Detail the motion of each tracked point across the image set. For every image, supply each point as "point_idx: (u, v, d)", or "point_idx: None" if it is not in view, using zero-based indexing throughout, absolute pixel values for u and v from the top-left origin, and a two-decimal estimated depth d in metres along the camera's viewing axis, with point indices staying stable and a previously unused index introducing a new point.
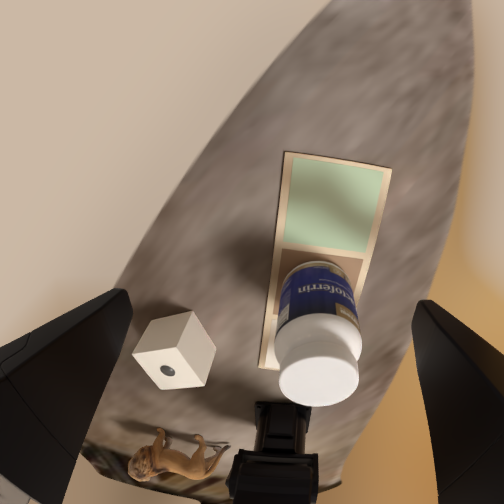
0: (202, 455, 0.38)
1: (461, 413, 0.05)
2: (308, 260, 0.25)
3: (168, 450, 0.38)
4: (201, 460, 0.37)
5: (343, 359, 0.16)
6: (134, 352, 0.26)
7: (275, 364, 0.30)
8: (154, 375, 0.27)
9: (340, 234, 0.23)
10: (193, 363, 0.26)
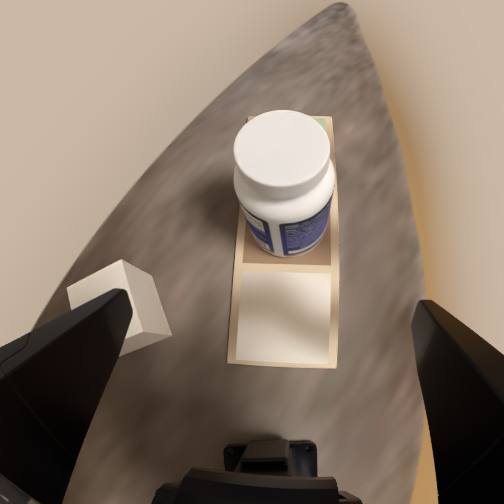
0: None
1: (461, 413, 0.05)
2: None
3: None
4: None
5: (300, 113, 0.15)
6: None
7: (250, 353, 0.22)
8: None
9: None
10: (136, 298, 0.20)
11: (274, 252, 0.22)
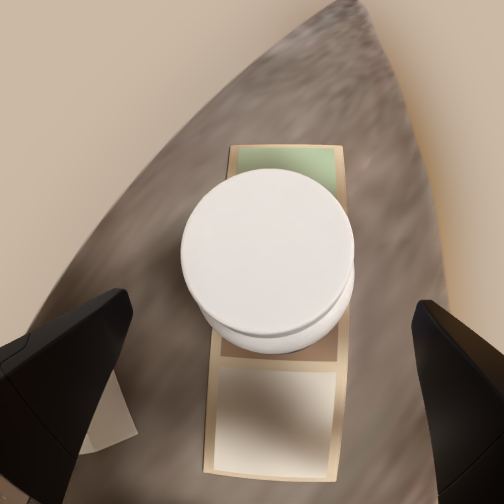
0: None
1: (461, 413, 0.05)
2: None
3: None
4: None
5: (301, 175, 0.09)
6: None
7: (231, 464, 0.15)
8: None
9: None
10: None
11: None
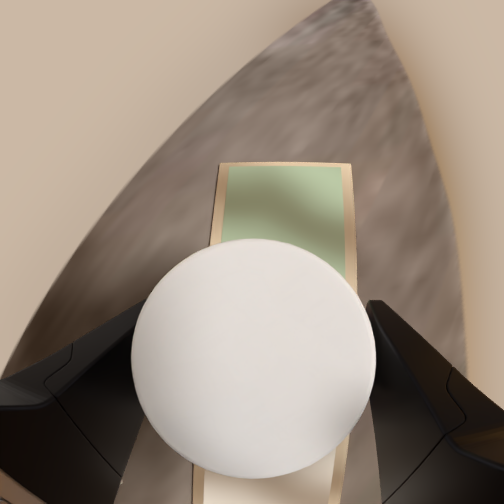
0: None
1: (398, 421, 0.05)
2: None
3: None
4: None
5: (303, 249, 0.06)
6: None
7: None
8: None
9: None
10: None
11: None
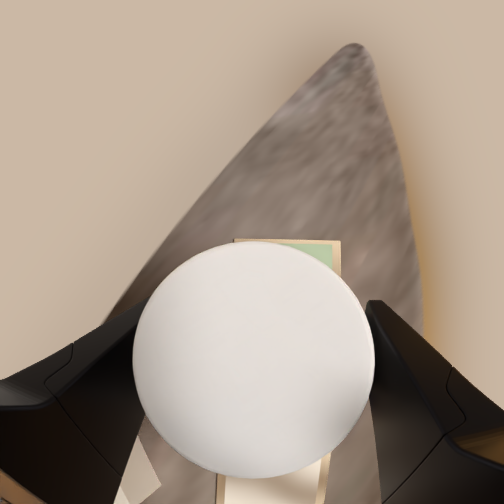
0: None
1: (398, 421, 0.05)
2: None
3: None
4: None
5: (302, 252, 0.06)
6: None
7: None
8: None
9: None
10: None
11: None
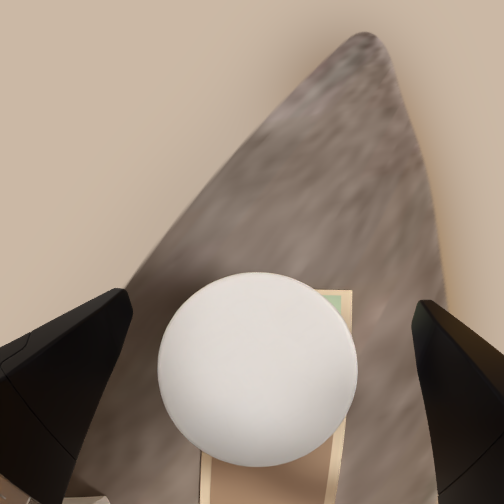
0: None
1: (461, 413, 0.05)
2: None
3: None
4: None
5: (299, 281, 0.07)
6: None
7: None
8: None
9: None
10: None
11: None
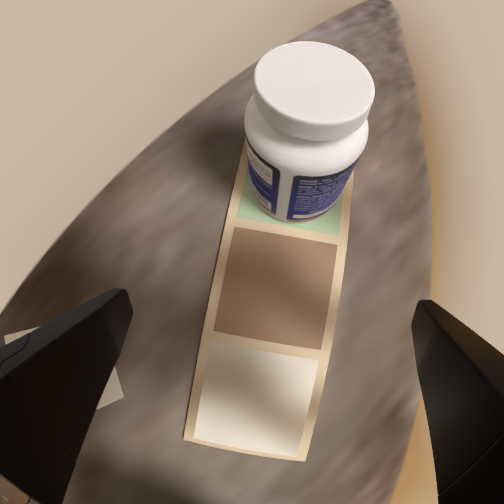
0: None
1: (461, 413, 0.05)
2: (267, 243, 0.19)
3: None
4: None
5: (340, 50, 0.11)
6: (8, 335, 0.14)
7: (210, 434, 0.17)
8: None
9: None
10: None
11: (275, 214, 0.18)
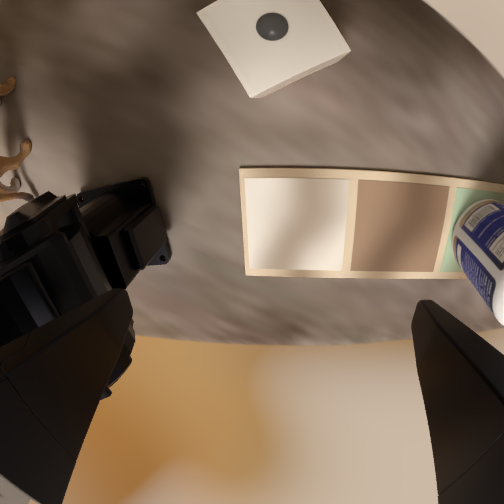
0: (4, 171, 0.18)
1: (461, 413, 0.05)
2: (436, 216, 0.19)
3: None
4: None
5: None
6: None
7: (253, 193, 0.20)
8: (241, 0, 0.11)
9: None
10: (297, 75, 0.13)
11: (461, 228, 0.17)
